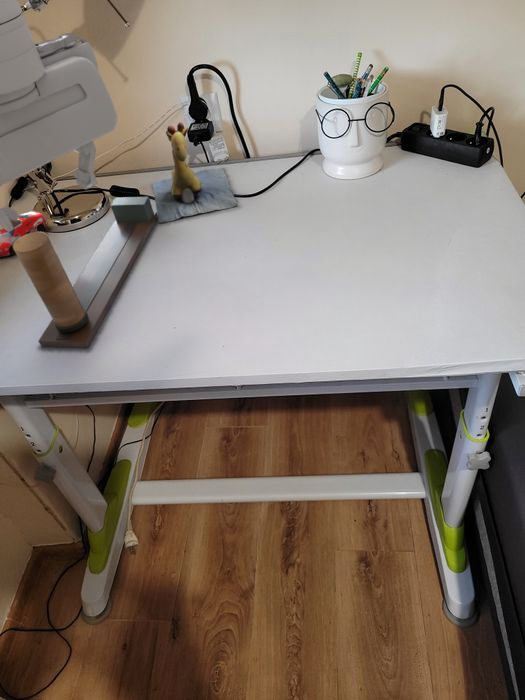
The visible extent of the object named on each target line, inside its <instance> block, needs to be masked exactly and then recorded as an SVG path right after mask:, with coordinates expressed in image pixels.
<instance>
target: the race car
mask: <svg viewBox="0 0 525 700" xmlns="http://www.w3.org/2000/svg"><path fill="white" fill-rule="evenodd" d="M18 219H19V220H21V222H22V225H20V226H19V227H17V228H15V229H13V230H12V231H10V232H9V231H7V230H5V229H4V228H3V227H2V228H1V229H0V257H7V256H10V255H11V256H12V255H13V256H15V255H17V254H16V253H15V251H14V249H13V244H14V243H15V241H16V240H17V239H19V238H20V237H22V236H24V235H26V234H29V233H33V232H43V233H45V228H47V226H48V224H49V222H48V220H46V219H47V217H46V216H45V215H44V213H42V212H39V211H33V210H32V211H29V212H25V213H21V214H19V215H18ZM46 221H47V224H46Z"/></svg>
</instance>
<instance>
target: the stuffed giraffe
mask: <svg viewBox="0 0 525 700" xmlns="http://www.w3.org/2000/svg"><path fill="white" fill-rule="evenodd" d="M176 128H177V129H176ZM176 128H175V127H174V126H173V125H168V126H167V127H166V129H167V130H166V131H165V134H166V136H167V139H168V141H169V142H170V144H171V154H172V159H173V163H174V164H173V169H172V171H171V177H170V178H169V179H168V178H167V179H163V180H159V181H153V182H152V187H153V195H154V201H155V207H156V212H157V215H158V219H157V220H158V223H165V222H172V221H175V220H176V221H177V220H179V219H181V217H190V216H194V215H198V214H205V213H208V212H213V211H216V210H217V211H219V210H220V211H221V210H225V209H230V208H232V209H233V208H234V207H236V206H238V202H237V201H236V199H235V195H234V193H233V190H232V187H231V185H230V182H229V179H228V177H227V175H226V173H225V171H224V168H223V167H220V168H209V169H208V168H207V169H202V170H199V171H196V172H194V171H193V169H192V168H191V167H189V165H188V163H187V162H186V159H187V157H188V152H187V151H188V146H187V145H188V144H187V141H186V136H187V133H188V131H189V128H188V127H185V125H184V123H183V122H178V124H177V126H176Z"/></svg>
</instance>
